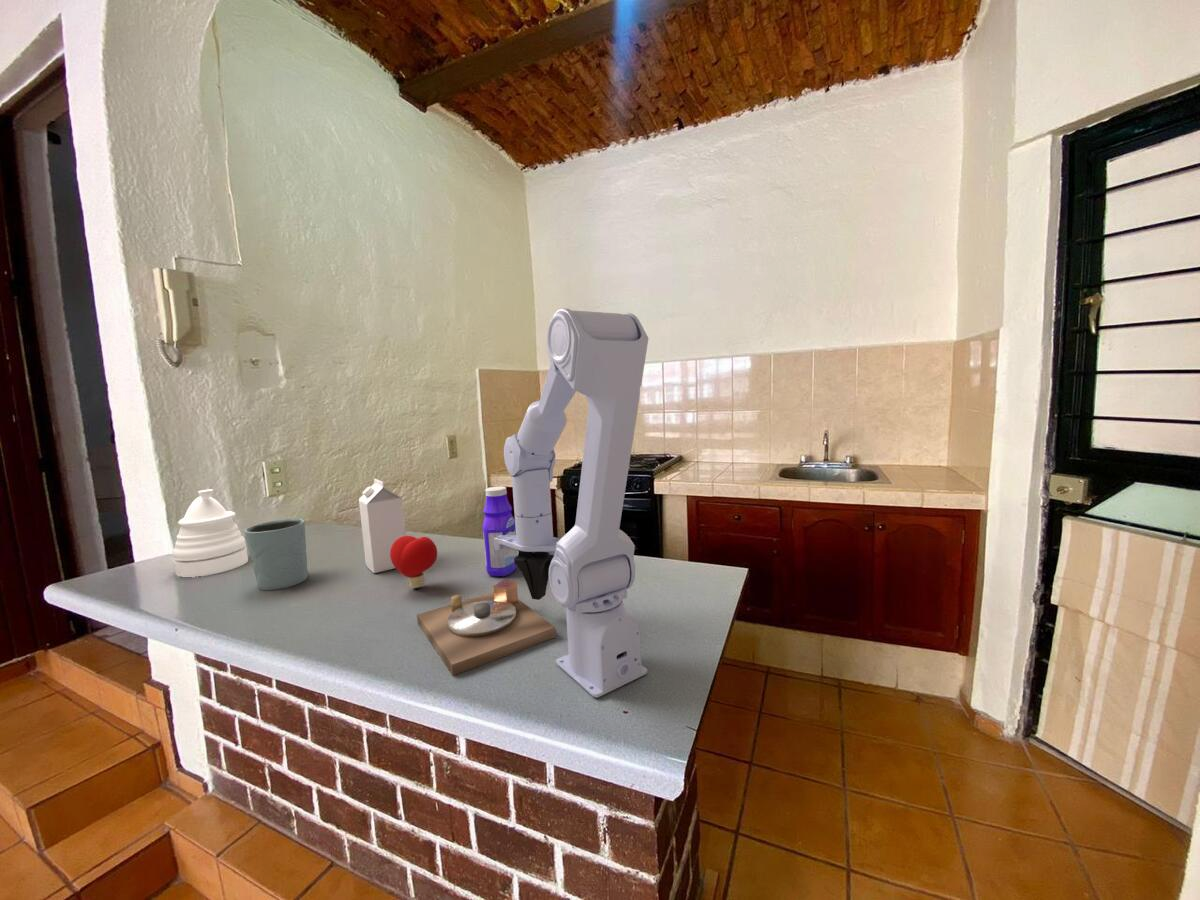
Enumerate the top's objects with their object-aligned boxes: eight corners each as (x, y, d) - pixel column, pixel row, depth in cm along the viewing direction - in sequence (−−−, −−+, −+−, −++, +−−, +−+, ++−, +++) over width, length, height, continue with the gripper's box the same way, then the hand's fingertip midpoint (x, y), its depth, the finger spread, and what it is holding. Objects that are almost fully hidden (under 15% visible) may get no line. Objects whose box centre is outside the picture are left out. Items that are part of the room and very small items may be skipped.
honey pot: (258, 562, 109) (248, 486, 107) (188, 581, 98) (175, 498, 96) (234, 554, 116) (224, 483, 114) (166, 572, 105) (154, 493, 103)
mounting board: (555, 636, 68) (554, 612, 67) (452, 675, 59) (450, 647, 59) (505, 597, 83) (504, 576, 82) (417, 623, 74) (415, 600, 74)
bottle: (508, 579, 91) (502, 491, 89) (481, 578, 92) (474, 491, 90) (522, 565, 98) (516, 484, 96) (496, 565, 99) (490, 484, 97)
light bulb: (383, 593, 87) (378, 541, 85) (410, 579, 93) (405, 530, 92) (424, 598, 84) (419, 544, 82) (449, 583, 90) (444, 533, 89)
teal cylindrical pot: (289, 591, 90) (282, 530, 89) (238, 593, 90) (230, 533, 89) (322, 571, 100) (315, 517, 99) (276, 573, 101) (268, 519, 99)
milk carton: (399, 557, 107) (391, 476, 105) (409, 565, 101) (400, 479, 99) (365, 566, 102) (356, 481, 100) (374, 574, 97) (364, 484, 95)
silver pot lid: (488, 642, 64) (486, 618, 64) (433, 629, 68) (431, 607, 68) (537, 604, 75) (536, 583, 75) (488, 595, 80) (486, 576, 79)
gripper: (586, 509, 73) (590, 592, 74) (510, 504, 79) (515, 581, 80) (564, 521, 66) (569, 612, 68) (483, 514, 73) (489, 598, 74)
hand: (538, 596), depth 74 cm, fingers closed
